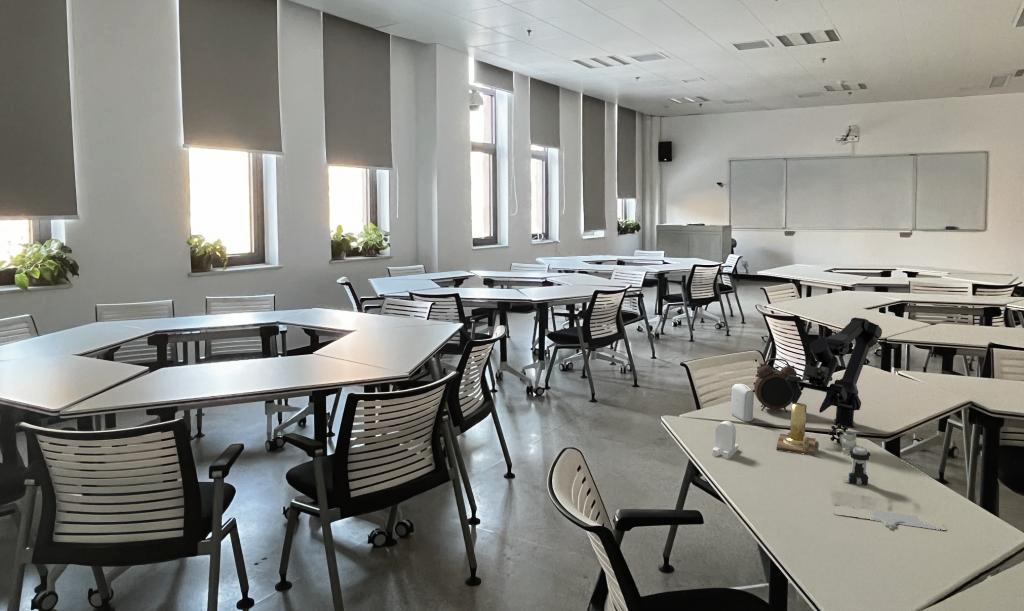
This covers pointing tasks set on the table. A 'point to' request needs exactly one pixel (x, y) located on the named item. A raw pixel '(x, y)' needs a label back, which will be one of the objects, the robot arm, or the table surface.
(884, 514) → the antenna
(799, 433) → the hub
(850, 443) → the valve
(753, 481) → the table surface
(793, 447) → the base plate
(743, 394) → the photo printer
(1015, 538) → the table surface
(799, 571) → the table surface
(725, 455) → the white phone stand
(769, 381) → the alarm clock
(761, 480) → the table surface
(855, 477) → the black white upright piece
